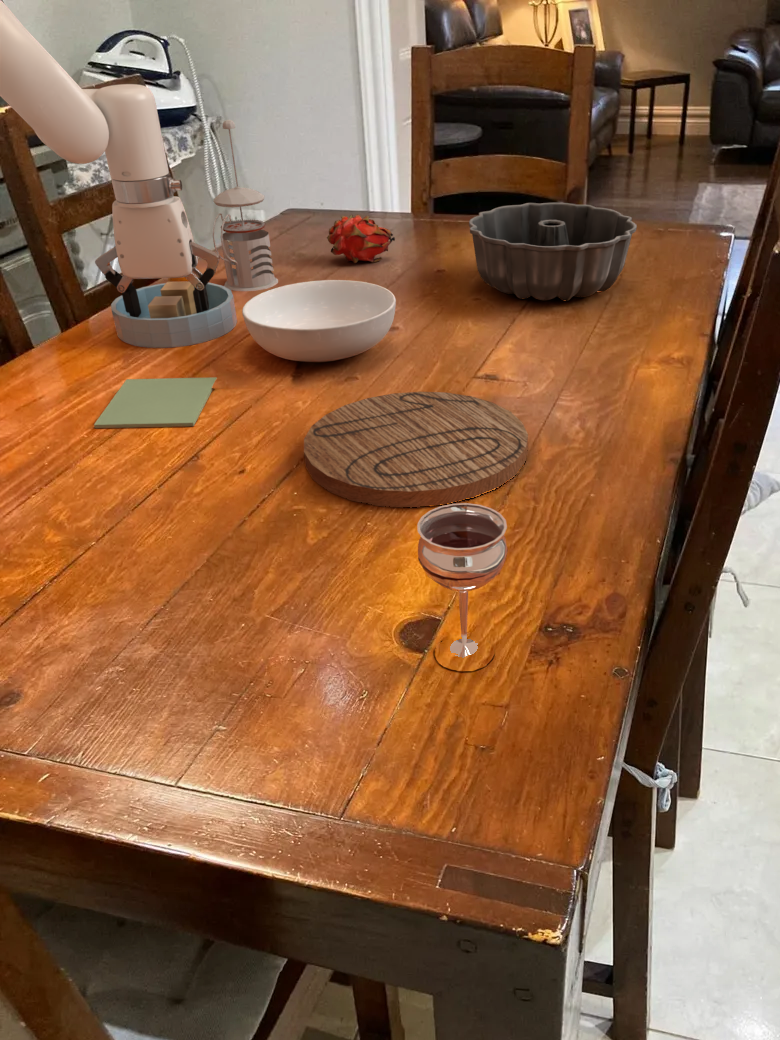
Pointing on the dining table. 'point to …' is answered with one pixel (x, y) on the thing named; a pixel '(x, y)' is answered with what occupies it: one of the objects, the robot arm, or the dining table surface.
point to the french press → (244, 239)
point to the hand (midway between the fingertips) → (169, 316)
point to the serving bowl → (320, 319)
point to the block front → (166, 307)
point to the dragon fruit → (359, 238)
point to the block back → (181, 294)
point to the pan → (175, 320)
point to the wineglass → (462, 554)
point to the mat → (157, 403)
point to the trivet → (415, 449)
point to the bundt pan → (551, 249)
